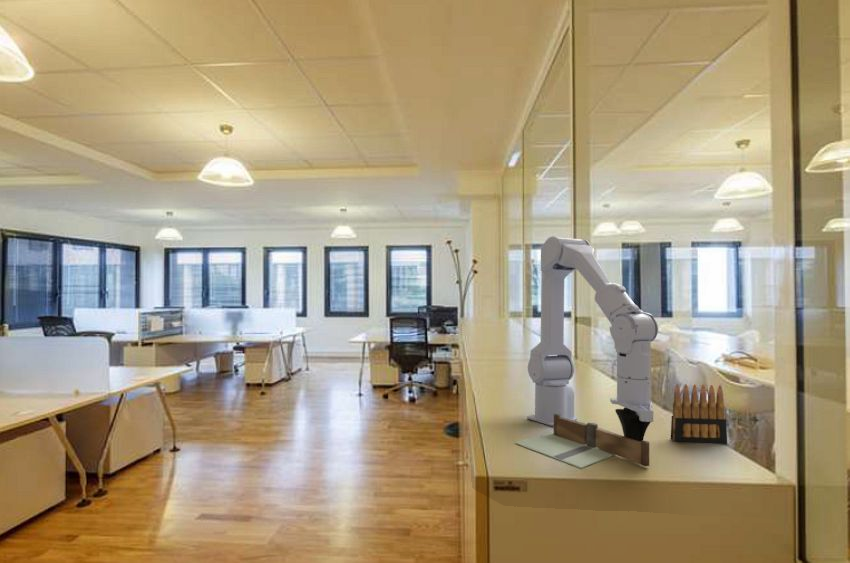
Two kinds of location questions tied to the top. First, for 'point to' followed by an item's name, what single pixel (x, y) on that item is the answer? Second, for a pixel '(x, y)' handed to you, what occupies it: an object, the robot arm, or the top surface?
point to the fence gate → (623, 446)
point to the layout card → (565, 450)
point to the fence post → (575, 430)
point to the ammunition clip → (698, 417)
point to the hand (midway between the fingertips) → (633, 449)
